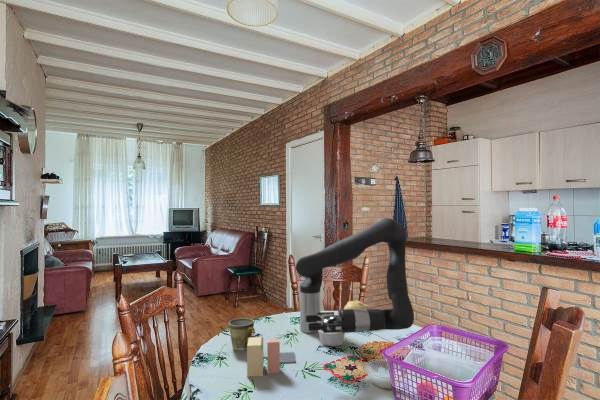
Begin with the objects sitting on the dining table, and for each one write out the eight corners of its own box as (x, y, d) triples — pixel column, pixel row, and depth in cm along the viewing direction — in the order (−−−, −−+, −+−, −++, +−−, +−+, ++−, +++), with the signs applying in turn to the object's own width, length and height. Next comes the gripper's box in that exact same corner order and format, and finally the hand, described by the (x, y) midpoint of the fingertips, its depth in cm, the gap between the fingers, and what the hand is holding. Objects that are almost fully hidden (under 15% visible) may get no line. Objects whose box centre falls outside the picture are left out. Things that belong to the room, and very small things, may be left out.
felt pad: (272, 354, 125) (272, 353, 125) (293, 353, 126) (293, 352, 126) (272, 363, 117) (272, 362, 117) (295, 362, 118) (295, 361, 118)
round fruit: (372, 323, 159) (372, 300, 160) (359, 330, 150) (359, 305, 151) (352, 318, 167) (351, 296, 167) (338, 324, 158) (338, 301, 158)
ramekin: (327, 349, 129) (327, 335, 129) (313, 339, 139) (313, 327, 139) (351, 344, 134) (350, 330, 134) (335, 335, 144) (335, 322, 144)
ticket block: (265, 366, 115) (265, 336, 115) (265, 376, 108) (265, 344, 108) (248, 367, 114) (248, 337, 115) (247, 377, 107) (247, 345, 108)
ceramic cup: (223, 347, 131) (223, 322, 131) (243, 340, 138) (243, 316, 139) (243, 357, 122) (243, 329, 123) (264, 349, 130) (264, 323, 130)
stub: (279, 368, 113) (279, 338, 114) (279, 372, 110) (279, 342, 111) (267, 369, 113) (267, 339, 113) (267, 373, 110) (267, 342, 110)
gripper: (349, 304, 122) (304, 305, 120) (359, 315, 108) (309, 317, 106) (349, 324, 121) (305, 327, 120) (360, 339, 107) (309, 341, 106)
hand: (307, 322), depth 113 cm, fingers open, 8 cm apart
